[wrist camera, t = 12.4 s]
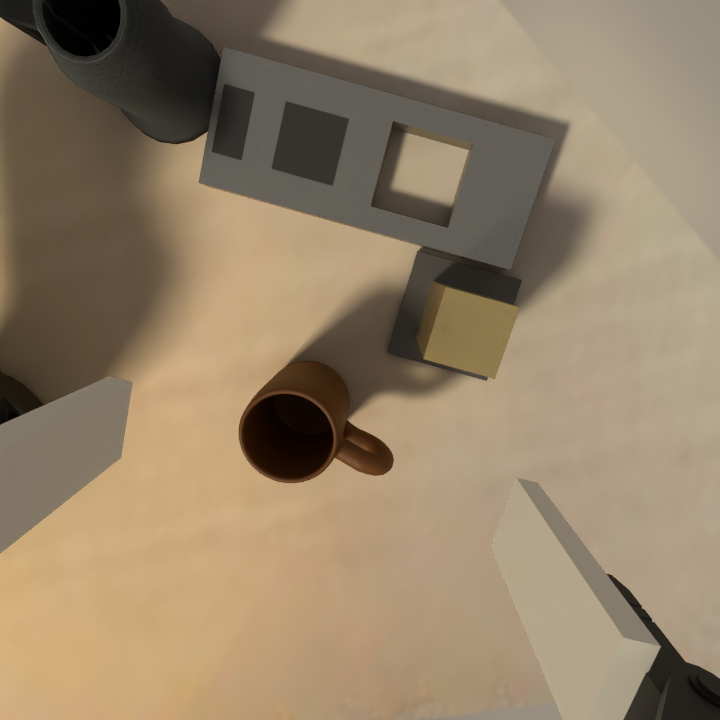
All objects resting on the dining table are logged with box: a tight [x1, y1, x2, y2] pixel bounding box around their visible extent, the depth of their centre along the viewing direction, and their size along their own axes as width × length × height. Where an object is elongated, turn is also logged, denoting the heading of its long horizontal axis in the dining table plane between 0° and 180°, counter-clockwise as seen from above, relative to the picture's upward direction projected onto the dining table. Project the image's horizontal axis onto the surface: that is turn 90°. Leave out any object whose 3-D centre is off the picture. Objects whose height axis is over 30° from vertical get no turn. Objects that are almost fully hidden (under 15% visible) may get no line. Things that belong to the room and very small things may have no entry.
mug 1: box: [0, 0, 221, 144], centre depth 31 cm, size 12×9×11 cm
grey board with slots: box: [199, 47, 556, 270], centre depth 36 cm, size 26×10×2 cm, turn 75°
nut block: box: [416, 281, 520, 379], centre depth 34 cm, size 5×5×9 cm
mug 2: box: [239, 361, 394, 483], centre depth 37 cm, size 12×8×9 cm, turn 69°
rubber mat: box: [388, 251, 522, 381], centre depth 39 cm, size 9×9×1 cm
